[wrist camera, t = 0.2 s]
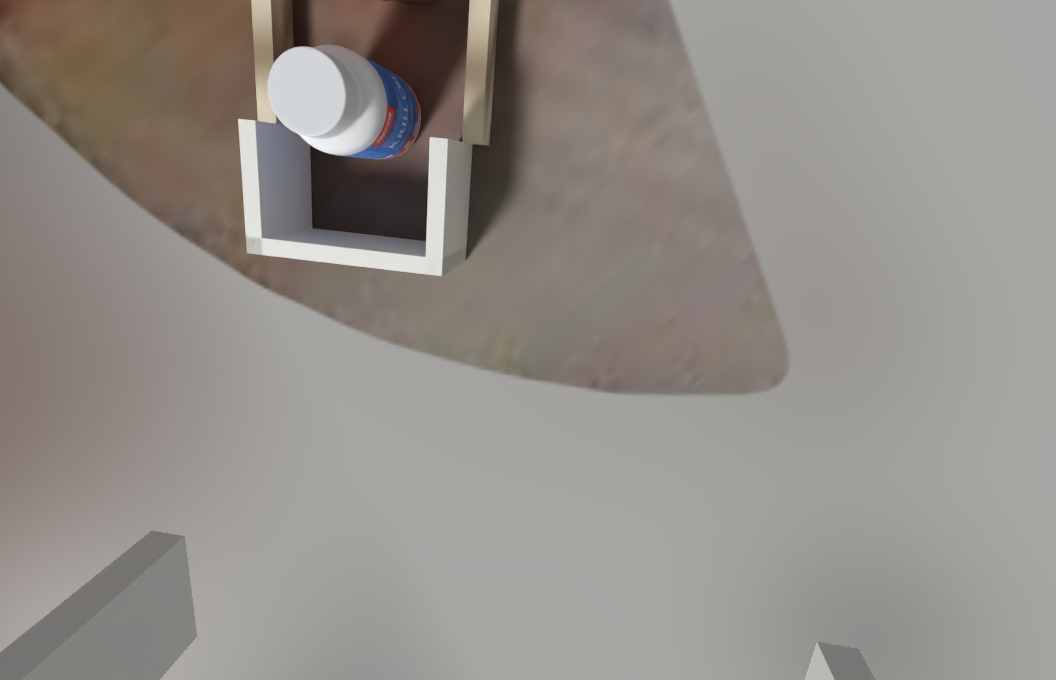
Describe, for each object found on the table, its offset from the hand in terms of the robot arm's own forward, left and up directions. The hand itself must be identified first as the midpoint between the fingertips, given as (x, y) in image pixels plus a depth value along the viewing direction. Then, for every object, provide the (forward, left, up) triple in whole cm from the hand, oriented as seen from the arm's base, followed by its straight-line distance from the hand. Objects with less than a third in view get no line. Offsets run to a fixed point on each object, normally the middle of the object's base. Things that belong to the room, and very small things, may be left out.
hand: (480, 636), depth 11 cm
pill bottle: (-12, -13, -28) cm, 33 cm away
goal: (-7, -13, -28) cm, 31 cm away
